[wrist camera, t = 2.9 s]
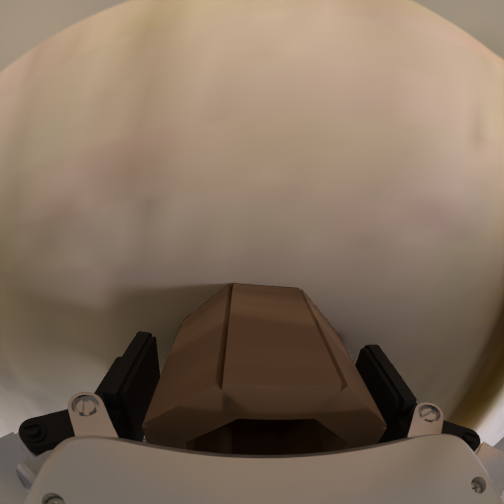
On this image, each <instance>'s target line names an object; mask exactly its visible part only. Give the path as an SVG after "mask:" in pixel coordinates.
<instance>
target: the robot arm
mask: <svg viewBox="0 0 504 504" xmlns="http://www.w3.org/2000/svg"><path fill="white" fill-rule="evenodd" d="M355 366H356V368H357V370H358V372H359V374H360V376H361V377H362V379H363V381H364V383H365V385H366V387H367V389H368V391H369V392H370V394H371V396H372V398H373V400H374V402H375V404H376V406H377V408H378V410H379V411H380V413H381V415H382V417H383V419H384V421H385V423H386V425H387V426H385V427H386V428H387V429H386V430H385V432H384V433H383V435H382V437H381V438H380V440H379V441H378V443H377V444H375V445H369V446H364V447H358V448H352V449H345V450H338V451H329V452H320V453H308V454H291V455H240V454H223V453H211V452H202V451H193V450H186V449H179V448H172V447H166V446H160V445H155V444H149V443H145V442H142V441H143V438H144V432H143V429H142V424H143V422H144V419H145V416H146V413H147V411H148V408H149V405H150V403H151V400H152V397H153V395H154V392H155V389H156V387H157V384H158V382H159V379H160V371H159V363H158V353H157V343H156V338H155V337H152V334H151V333H147V332H141V331H138V333H137V334H136V336H135V337H134V339H133V340H132V342H131V343H130V345H129V347H128V348H127V350H126V351H125V353H124V354H123V356H122V357H117V358H116V360H115V361H114V363H113V364H112V366H111V367H110V369H109V371H108V372H107V374H106V375H105V377H104V379H103V380H102V382H101V383H100V385H99V387H98V388H97V390H96V392H95V393H90V392H81V393H78V394H75V395H74V396H72V397H71V398H70V400H69V402H68V409H66V410H63V411H59V412H55V413H51V414H47V415H43V416H39V417H34V418H30V419H27V420H25V421H24V422H23V423H22V424H21V425H20V428H19V433H17V434H14V433H13V432H12V433H10V434H8V435H6V436H4V437H2V438H0V504H504V503H503V500H502V498H501V494H502V492H503V490H504V453H503V452H501V451H499V450H497V449H496V448H494V447H492V446H490V445H489V444H487V443H485V442H483V443H482V444H481V443H480V438H479V435H478V434H477V433H476V432H475V431H473V430H471V429H469V428H465V427H462V426H459V425H456V424H453V423H450V422H447V421H445V420H443V417H444V416H443V412H442V410H441V409H440V408H439V407H438V406H437V405H435V404H433V403H429V402H423V403H420V404H418V405H417V403H416V400H417V399H416V398H415V396H414V395H413V393H412V392H411V390H410V389H409V387H408V386H407V385H406V383H405V382H404V380H403V379H402V377H401V376H400V375H399V373H398V372H397V370H396V369H395V368H394V366H393V365H392V363H391V362H390V361H389V359H388V358H387V356H386V355H385V354H384V352H383V351H382V350H381V348H380V347H379V346H378V345H366V346H365V347H364V348H362V349H361V351H360V353H359V356H358V359H357V362H356V365H355Z"/></svg>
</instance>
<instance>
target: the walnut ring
mask: <svg viewBox="0 0 504 504" xmlns="http://www.w3.org/2000/svg"><path fill="white" fill-rule="evenodd" d="M385 426H387V425H386V423H385V421H384V419H383V417H382V415H381V413H380V411H379V410H378V408H377V406H376V404H375V402H374V400H373V398H372V396H371V394H370V392H369V391H368V389H367V387H366V385H365V383H364V381H363V379H362V377H361V376H360V374H359V372H358V370H357V368H356V366H355V365H354V363H353V361H352V359H351V357H350V355H349V354H348V352H347V350H346V348H345V346H344V345H343V343H342V341H341V339H340V337H339V336H338V334H337V332H336V330H335V329H334V328H333V327H332V325H331V324H330V323H329V322H328V320H327V319H326V318H325V317H324V316H323V314H322V313H321V312H320V311H319V310H318V308H317V307H316V306H315V305H314V304H313V302H312V301H311V300H310V299H309V297H308V296H307V295H306V294H305V293H304V291H303V290H301V291H300V290H299V288H290V287H275V286H261V285H248V284H236V283H233V288H232V287H231V286H230V285H228V286H226V287H225V288H224V289H223V290H221V291H220V292H219V293H218V294H216V295H215V296H214V297H213V298H211V299H210V300H209V301H208V302H206V303H205V304H204V305H202V306H201V307H200V308H199V309H197V310H196V311H195V312H194V313H192V314H191V315H190V316H188V317H187V318H186V319H185V320H183V322H182V324H181V327H180V329H179V331H178V334H177V336H176V339H175V341H174V344H173V346H172V349H171V351H170V354H169V356H168V359H167V361H166V364H165V366H164V369H163V371H162V374H161V377H160V379H159V382H158V384H157V387H156V389H155V392H154V395H153V397H152V400H151V403H150V405H149V408H148V411H147V413H146V416H145V419H144V422H143V424H142V429H143V432H144V435H145V439H146V442H147V443H149V444H155V445H160V446H166V447H172V448H179V449H186V450H193V451H202V452H211V453H223V454H240V455H291V454H308V453H320V452H329V451H338V450H345V449H352V448H358V447H364V446H369V445H375V444H377V443H378V441H379V440H380V438H381V437H382V435H383V433H384V432H385V430H386V429H387V428H386V427H385Z"/></svg>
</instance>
